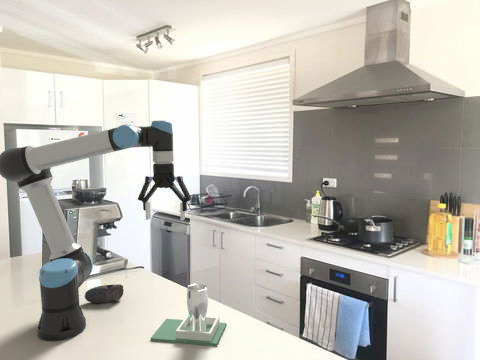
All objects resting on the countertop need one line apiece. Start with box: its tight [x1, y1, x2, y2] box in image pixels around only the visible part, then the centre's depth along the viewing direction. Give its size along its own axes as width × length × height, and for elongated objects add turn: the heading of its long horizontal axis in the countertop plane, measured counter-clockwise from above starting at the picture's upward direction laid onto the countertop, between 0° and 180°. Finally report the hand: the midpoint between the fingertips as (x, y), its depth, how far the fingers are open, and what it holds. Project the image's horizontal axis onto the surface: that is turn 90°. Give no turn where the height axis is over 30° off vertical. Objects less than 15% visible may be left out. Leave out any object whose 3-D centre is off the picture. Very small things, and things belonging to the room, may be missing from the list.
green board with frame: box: [150, 314, 227, 347], centre depth 132 cm, size 22×14×3 cm, turn 79°
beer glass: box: [186, 283, 209, 332], centre depth 131 cm, size 7×7×15 cm
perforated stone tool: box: [84, 283, 124, 304], centre depth 158 cm, size 15×5×7 cm, turn 94°
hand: (165, 219), depth 148 cm, fingers open, 13 cm apart
